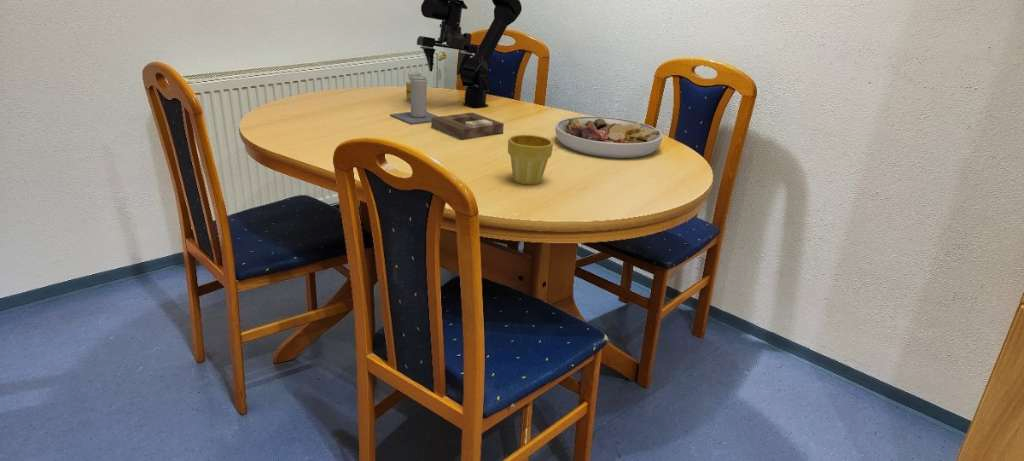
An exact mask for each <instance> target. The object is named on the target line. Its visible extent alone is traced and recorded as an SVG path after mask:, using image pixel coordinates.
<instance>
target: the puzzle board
mask: <svg viewBox="0 0 1024 461" xmlns="http://www.w3.org/2000/svg"><path fill="white" fill-rule="evenodd" d="M430 123H431V124H430V127H431V128H432V129H433V130H436V131H438V132H441V133H443V134H446V135H448V136H451V137H453V138H456V139H458V140H460V141H464V140H465V141H466V140H470V139H475V138H476V139H477V138H483V137H489V136H490V137H492V136H496V135H502V134H504V125H505V124H504V123H503V122H501V121H498V120H495V119H492V118H489V117H486V116H484V115H481V114H479V113H475V112H465V113H457V114H449V115H442V116H439V117H432V118H431V122H430Z"/></svg>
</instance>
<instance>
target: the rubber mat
mask: <svg viewBox="0 0 1024 461" xmlns="http://www.w3.org/2000/svg"><path fill="white" fill-rule="evenodd" d="M389 116H390V117H391V118H394V119H397V120H398V121H401V122H404V123H406V124H408V125H411V126H412V125H419V124H426V123H431V118H432V117H440V116H438V115H436V114H433V113H430V112H427V111H426V116H425V117H424V118H414V117H412V116H411V111H407V112H398V113H397V112H396V113H390V114H389Z"/></svg>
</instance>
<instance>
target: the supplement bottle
mask: <svg viewBox="0 0 1024 461" xmlns="http://www.w3.org/2000/svg"><path fill="white" fill-rule="evenodd" d="M407 75H408V76H407V77H408V78H407V79H406V81H405V82H406V86H405V87H406V91H405V92H406V96H405V98H406V101H405V102H406V103H408V104H411V77H412V76H421V73H420V72H417V71H412V72H411V71H409V72H408V74H407Z"/></svg>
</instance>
